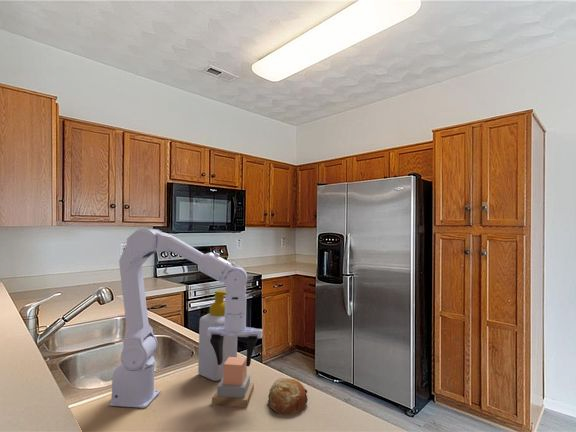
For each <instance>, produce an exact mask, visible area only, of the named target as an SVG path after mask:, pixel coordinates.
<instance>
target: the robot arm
mask: <svg viewBox="0 0 576 432" xmlns="http://www.w3.org/2000/svg"><path fill="white" fill-rule="evenodd" d="M157 252H171V253H174V254H176V255H177V256H180V257H182V258H184V259H186V260H187V261H190V262H192V263H194V264H196V265H197V266H198V269H199V271H200V272H201V273H203V274H204V275H206V276H209V277H210V278H212V279H214V280H216V281H218V282H220V283H224V286H225V291H226V295H224V303H225V320H224V326H223V327H209V328H208V329H207V336H211V339H210V343H211V344H212V346H213V348H214V351H215V354H216V357H217V362H218V365H221V363H222V361H223V339H224V336H234V337H237V338H238V337H239V338H247V339H246V341H245V342H246V343H245V344H246V358H247V361H246V366H247V367H250V365H251V362H252V358H253V353H254V350H255V348H256V344H257V342H258V340H259V339H262V338H263V328H255V327H249V326H247V297H248V296H247V283H248V273H247V271H246V270H245V268H243V267H242V266H241V265H236V262H234V261H232V262H230V261H228V260H227V259H225V258H223V257H220V256H221V255H220V253H218V252H215V253H213V252H212V251H211V252H207V253H203V252H202V251H199V250H198V249H196V248H195V247H193V246H192V245H189V244H188V243H187V242H184V240H181V239H179V238H178V237H176V236H174V235H172V234H169V233H166V232H163V231H162V230H160V229H157V228H150V229H148V228H139V229H136V230H135V231H134V232H132V233H131V235H130V236H128V237H127V238H126V244H125V247H124V249H123V251H122V254H121V255H120V258H119V271H120V272H119V273H120V281H121V291H122V299H123V307H124V315H125V324H126V326H125V327H126V331H125V334H124V337H123V341H122V345H123V346H122V347H123V348H122V351H121V354H120V361H121V363H119V364H118V365H117V366H116V368H115V369H114V371H113V375H112V378H111V379H112V380H111V381H112V382H111V401H110V403H109V407H123V408H124V407H125V408H142V409H143V408H144V409H145V408H147V407H148V406H149V404H151V403H152V402H153V400H155V399H156V397H158V396H159V395H160V394H161V391H160V390H156V389H155V363H156V362H155V361H156V360H155V357H154V353H156V351H157V349H158V347H159V345H158V343H159V342H158V339H157V337H156V336H155V334H154V330H153V327H152V326H151V324H150V322H149V316H148V308H147V306H148V305H147V300H146V299H147V298H146V289H145V280H144V274H143V273H144V272H143V264H144V263H145V262H147V260H148V259H149V258H150V257H151V256H152V255H154V254H155V253H157Z"/></svg>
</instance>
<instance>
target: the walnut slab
mask: <svg viewBox="0 0 576 432" xmlns="http://www.w3.org/2000/svg"><path fill="white" fill-rule="evenodd" d="M254 388H255V383H254V382H253V383H252V382H250V384H249V387H248V390H247V393H246V395H245V398H238V397H219V396H217V390H216V391H215V392H214V394H213V396H212V397H211V406H220V407H234V406H239V407H238V408H248V406H249V404H250V403H249V402H250V401H251V398H252V395H253V393H254Z"/></svg>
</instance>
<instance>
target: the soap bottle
mask: <svg viewBox="0 0 576 432" xmlns="http://www.w3.org/2000/svg"><path fill="white" fill-rule="evenodd" d="M214 292H215V293H214V302H213V303H211V304H210V306H209V313H207V314H205V315H203V316H201V317H200V318H199V327H198V330H199V331H198V363H197V364H198V365H197V366H198V367H197V368H198V371H197V373H198V374H199V375H200V376H202V377H204V378H206V379H209V380H211V381H213V382H218V381H219V382H220V381H221V380H222V378H223V369H224V363H225V362H226V360H227V359H228V358H229V357H238V337H234V336H224V339H223V361H222V363H221V365H218V362H217V357H216V354H215V351H214V348H213V346H212V344H211V343H210V339H211V336H207V329H208V328H209V327H223V326H224V320H225V295H226V290H221V289H220V290H215V291H214Z"/></svg>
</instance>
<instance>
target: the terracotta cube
mask: <svg viewBox="0 0 576 432" xmlns="http://www.w3.org/2000/svg"><path fill="white" fill-rule="evenodd" d="M246 361H247V357H238V356H237V357H229V358H228V359H227V360H226V362H225V363H224V369H223V384H233V385H242V384H243V382H244V380H245V378H246V375H248V374H247V369H248V366H246Z"/></svg>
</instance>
